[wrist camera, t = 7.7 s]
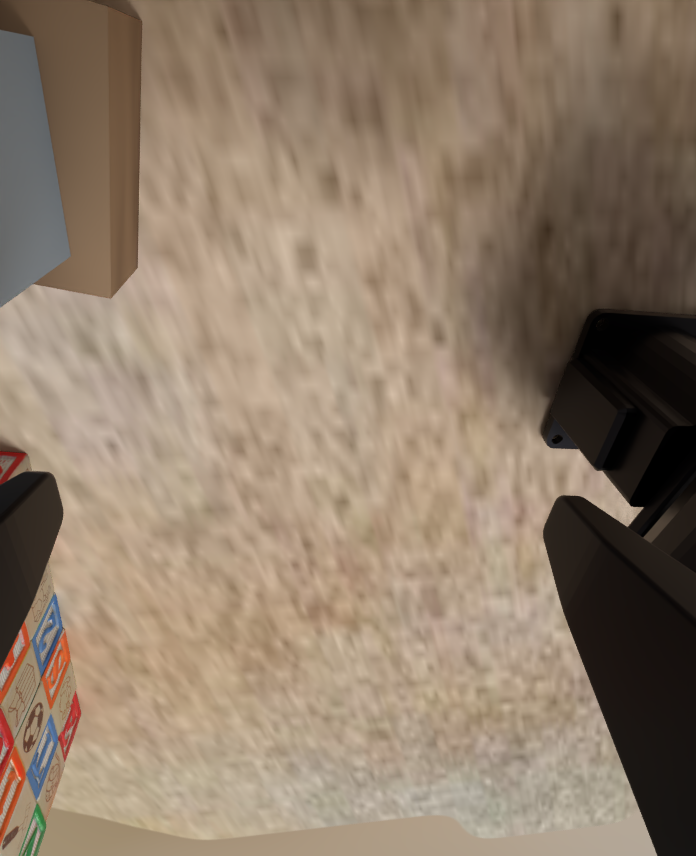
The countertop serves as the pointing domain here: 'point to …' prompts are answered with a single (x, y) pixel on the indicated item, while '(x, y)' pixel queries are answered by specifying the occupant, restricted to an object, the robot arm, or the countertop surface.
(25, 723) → the stack of blocks
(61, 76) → the walnut slab
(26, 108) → the slate cube
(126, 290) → the countertop surface
